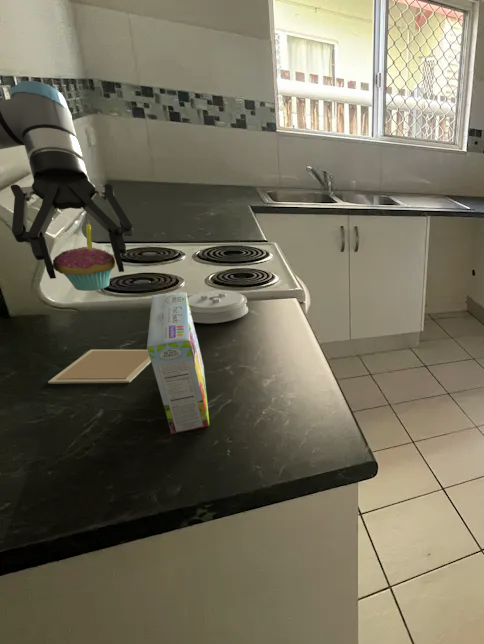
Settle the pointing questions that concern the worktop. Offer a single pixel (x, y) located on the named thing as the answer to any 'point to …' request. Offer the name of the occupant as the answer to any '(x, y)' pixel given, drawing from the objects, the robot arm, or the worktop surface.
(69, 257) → the cupcake
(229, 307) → the lid
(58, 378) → the tan square board
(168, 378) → the snack box
